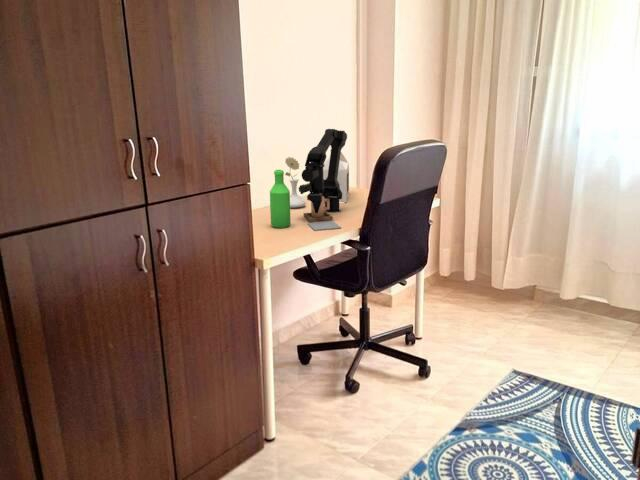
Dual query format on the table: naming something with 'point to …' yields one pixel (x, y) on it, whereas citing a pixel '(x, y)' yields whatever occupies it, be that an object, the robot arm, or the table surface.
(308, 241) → the table surface
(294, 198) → the flower in vase
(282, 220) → the bottle
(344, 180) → the gable box
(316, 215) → the jug
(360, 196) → the table surface
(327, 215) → the holder
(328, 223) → the pad
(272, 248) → the table surface
